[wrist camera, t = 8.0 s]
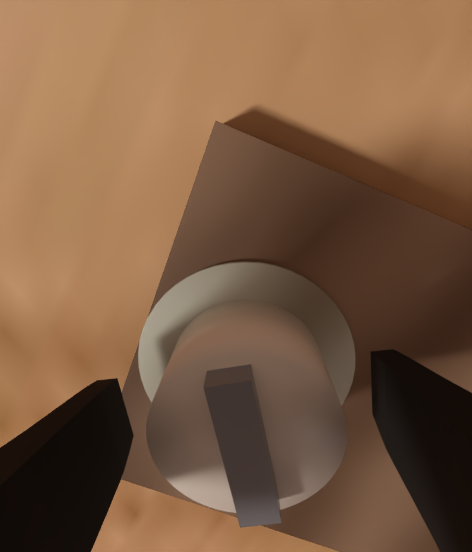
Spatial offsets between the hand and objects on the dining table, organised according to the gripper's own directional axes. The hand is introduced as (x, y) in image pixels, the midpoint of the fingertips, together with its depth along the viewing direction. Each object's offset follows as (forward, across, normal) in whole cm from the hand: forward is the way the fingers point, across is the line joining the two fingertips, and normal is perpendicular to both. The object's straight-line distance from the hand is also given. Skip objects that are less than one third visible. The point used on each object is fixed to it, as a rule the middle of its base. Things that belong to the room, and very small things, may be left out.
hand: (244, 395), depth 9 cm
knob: (+1, 0, 0) cm, 1 cm away
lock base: (+3, -4, +2) cm, 6 cm away
